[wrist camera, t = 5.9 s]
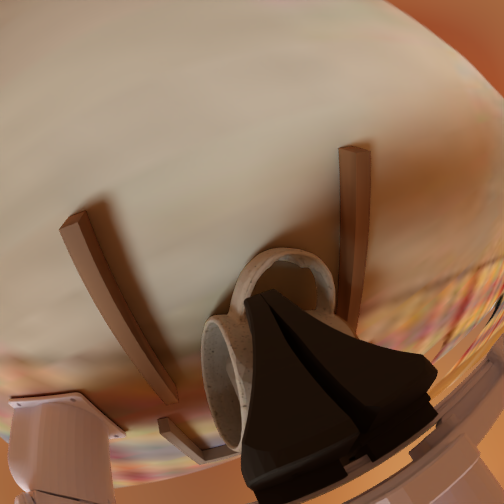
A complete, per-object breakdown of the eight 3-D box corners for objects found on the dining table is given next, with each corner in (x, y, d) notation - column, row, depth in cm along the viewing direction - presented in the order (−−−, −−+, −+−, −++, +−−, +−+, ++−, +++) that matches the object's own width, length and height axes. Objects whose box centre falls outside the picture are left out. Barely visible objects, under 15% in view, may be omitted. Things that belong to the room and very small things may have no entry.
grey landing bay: (196, 454, 25) (199, 464, 24) (157, 419, 20) (159, 433, 18) (347, 400, 29) (352, 408, 28) (361, 347, 24) (370, 357, 22)
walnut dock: (163, 389, 18) (166, 405, 16) (68, 217, 11) (58, 229, 9) (344, 326, 21) (354, 338, 19) (352, 146, 14) (370, 151, 12)
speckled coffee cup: (299, 360, 21) (345, 434, 14) (198, 375, 18) (226, 470, 11) (340, 240, 16) (430, 311, 10) (207, 237, 14) (261, 350, 7)
